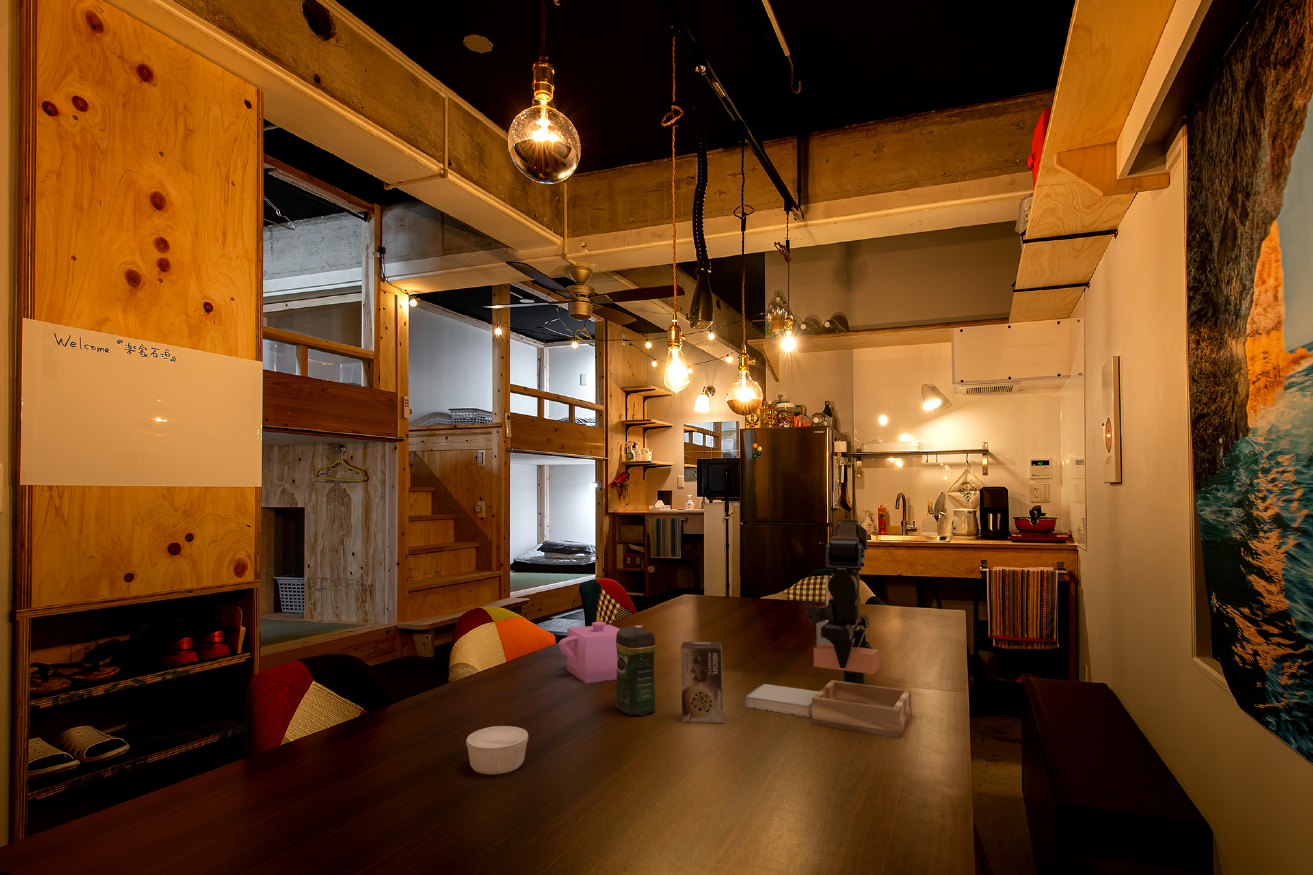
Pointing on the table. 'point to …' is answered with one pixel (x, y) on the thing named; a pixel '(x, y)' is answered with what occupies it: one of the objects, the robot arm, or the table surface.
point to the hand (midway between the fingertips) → (846, 664)
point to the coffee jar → (635, 671)
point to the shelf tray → (862, 708)
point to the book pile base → (781, 700)
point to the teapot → (591, 652)
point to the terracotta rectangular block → (857, 661)
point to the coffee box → (701, 682)
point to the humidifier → (821, 624)
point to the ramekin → (497, 749)
